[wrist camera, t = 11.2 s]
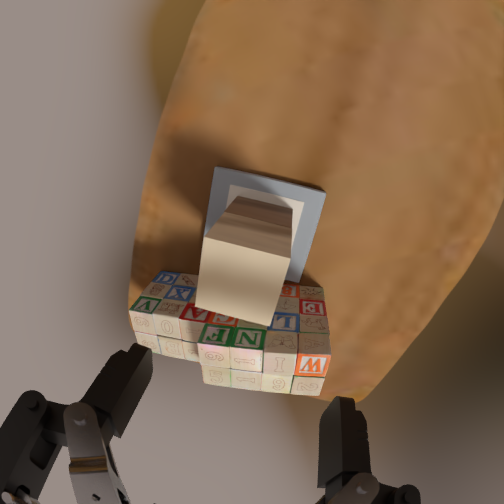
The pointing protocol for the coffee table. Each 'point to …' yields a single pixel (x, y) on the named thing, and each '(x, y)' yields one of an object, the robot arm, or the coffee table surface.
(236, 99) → the coffee table surface
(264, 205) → the walnut block
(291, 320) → the stack of blocks
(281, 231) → the maple block
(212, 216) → the build board
